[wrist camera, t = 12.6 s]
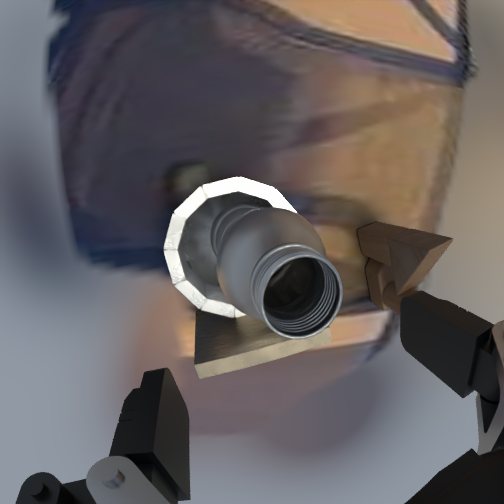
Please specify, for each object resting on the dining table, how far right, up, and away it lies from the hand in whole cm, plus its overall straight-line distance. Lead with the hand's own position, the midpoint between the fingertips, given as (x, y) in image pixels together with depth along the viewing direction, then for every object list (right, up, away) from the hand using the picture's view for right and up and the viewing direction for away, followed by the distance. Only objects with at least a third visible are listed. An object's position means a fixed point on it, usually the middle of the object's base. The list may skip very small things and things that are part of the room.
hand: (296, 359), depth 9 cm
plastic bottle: (-3, +5, +22) cm, 23 cm away
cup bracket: (-4, +4, +25) cm, 26 cm away
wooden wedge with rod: (+15, +2, +29) cm, 33 cm away
